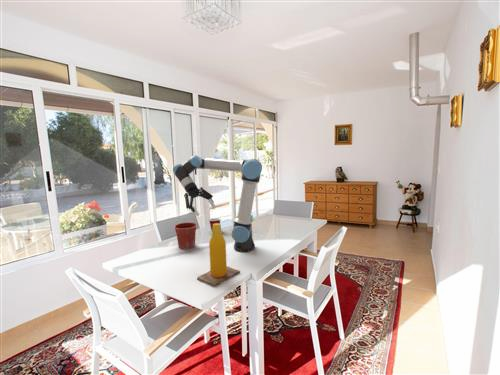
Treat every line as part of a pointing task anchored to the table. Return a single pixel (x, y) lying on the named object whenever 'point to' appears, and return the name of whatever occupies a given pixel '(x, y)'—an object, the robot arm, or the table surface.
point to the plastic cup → (214, 221)
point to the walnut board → (216, 281)
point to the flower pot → (186, 235)
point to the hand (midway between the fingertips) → (206, 211)
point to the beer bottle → (217, 252)
